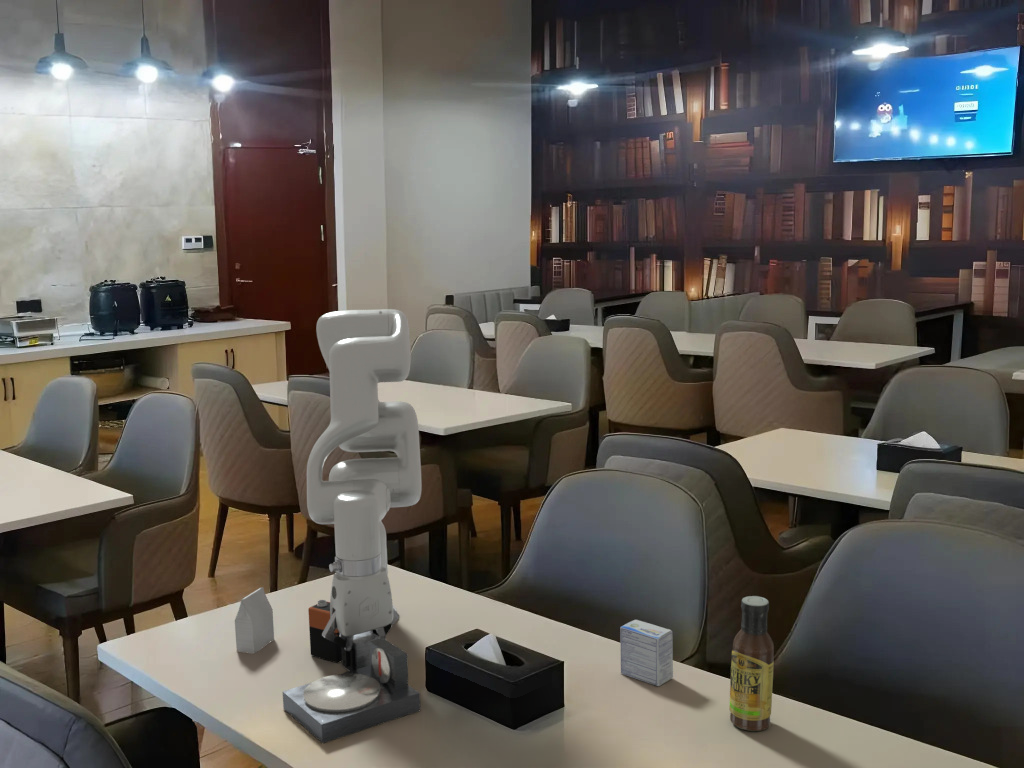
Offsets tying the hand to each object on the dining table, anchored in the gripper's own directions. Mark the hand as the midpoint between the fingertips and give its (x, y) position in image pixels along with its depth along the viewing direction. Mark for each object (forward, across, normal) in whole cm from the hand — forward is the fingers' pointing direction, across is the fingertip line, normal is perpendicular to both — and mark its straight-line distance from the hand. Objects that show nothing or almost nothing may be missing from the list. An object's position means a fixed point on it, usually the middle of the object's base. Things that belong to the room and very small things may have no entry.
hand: (363, 664), depth 182 cm
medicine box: (+2, +37, -31) cm, 48 cm away
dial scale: (+1, -8, -11) cm, 14 cm away
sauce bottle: (+1, +38, -53) cm, 65 cm away
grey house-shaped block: (+2, -10, +23) cm, 25 cm away
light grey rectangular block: (+1, 0, 0) cm, 1 cm away
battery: (+2, -1, +10) cm, 10 cm away
